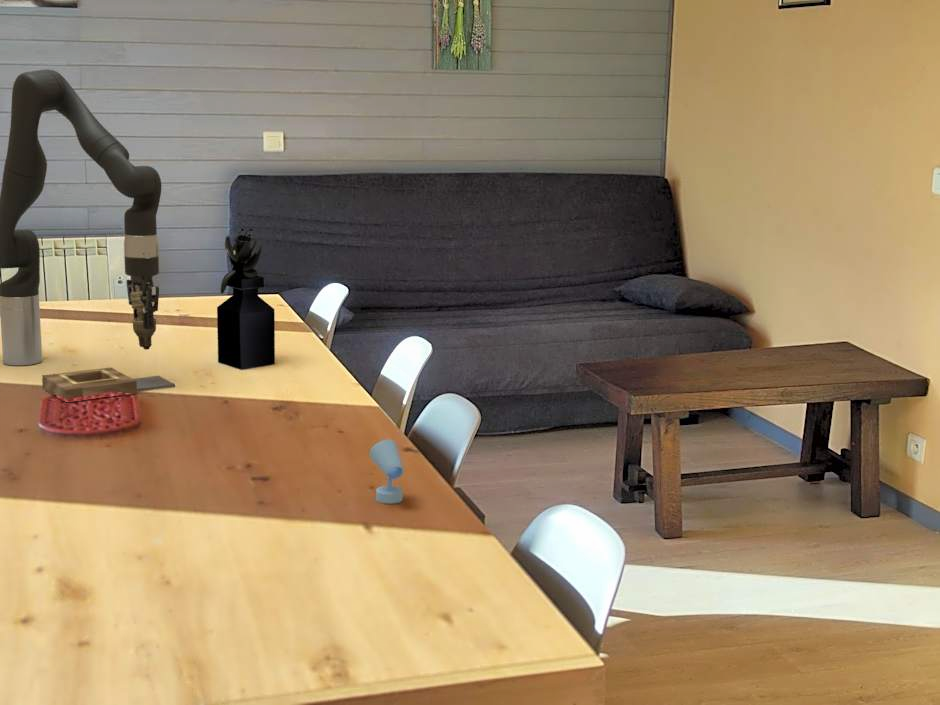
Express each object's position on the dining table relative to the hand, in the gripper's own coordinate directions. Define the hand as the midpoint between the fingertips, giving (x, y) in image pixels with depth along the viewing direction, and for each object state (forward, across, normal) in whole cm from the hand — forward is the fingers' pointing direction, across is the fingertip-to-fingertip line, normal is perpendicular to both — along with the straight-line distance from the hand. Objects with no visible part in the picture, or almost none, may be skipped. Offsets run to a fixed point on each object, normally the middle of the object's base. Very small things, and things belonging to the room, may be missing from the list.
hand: (143, 326), depth 253 cm
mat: (+14, 0, 0) cm, 14 cm away
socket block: (+14, -1, -13) cm, 19 cm away
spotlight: (+14, +96, +4) cm, 97 cm away
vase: (+14, -9, +30) cm, 34 cm away
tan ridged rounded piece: (+6, 0, 0) cm, 6 cm away
